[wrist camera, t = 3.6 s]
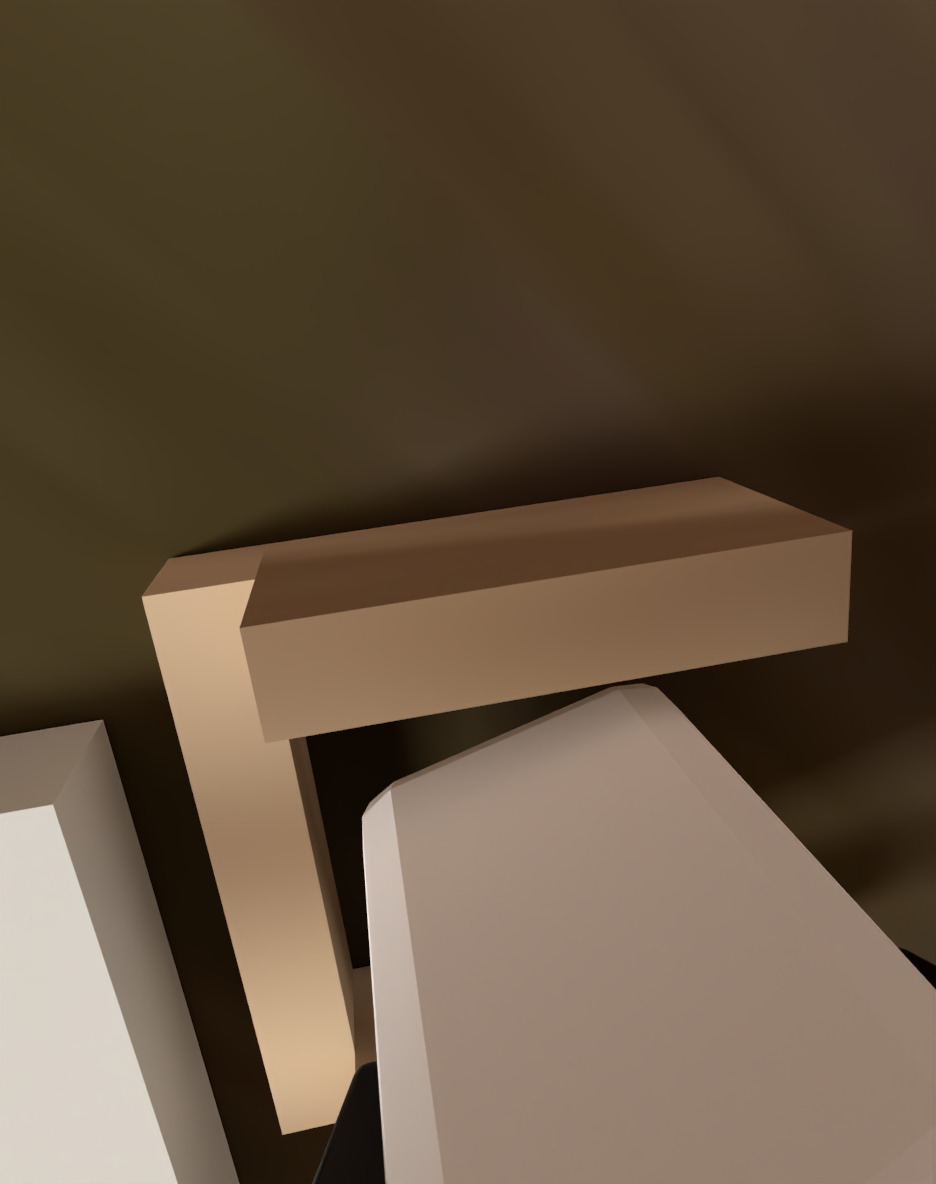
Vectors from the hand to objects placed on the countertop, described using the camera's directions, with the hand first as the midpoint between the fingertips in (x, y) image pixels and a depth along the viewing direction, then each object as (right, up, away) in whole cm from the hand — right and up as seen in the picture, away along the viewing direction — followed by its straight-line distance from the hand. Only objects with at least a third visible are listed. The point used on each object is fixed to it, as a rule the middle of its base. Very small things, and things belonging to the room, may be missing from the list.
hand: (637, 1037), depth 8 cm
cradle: (-1, +1, +4) cm, 5 cm away
